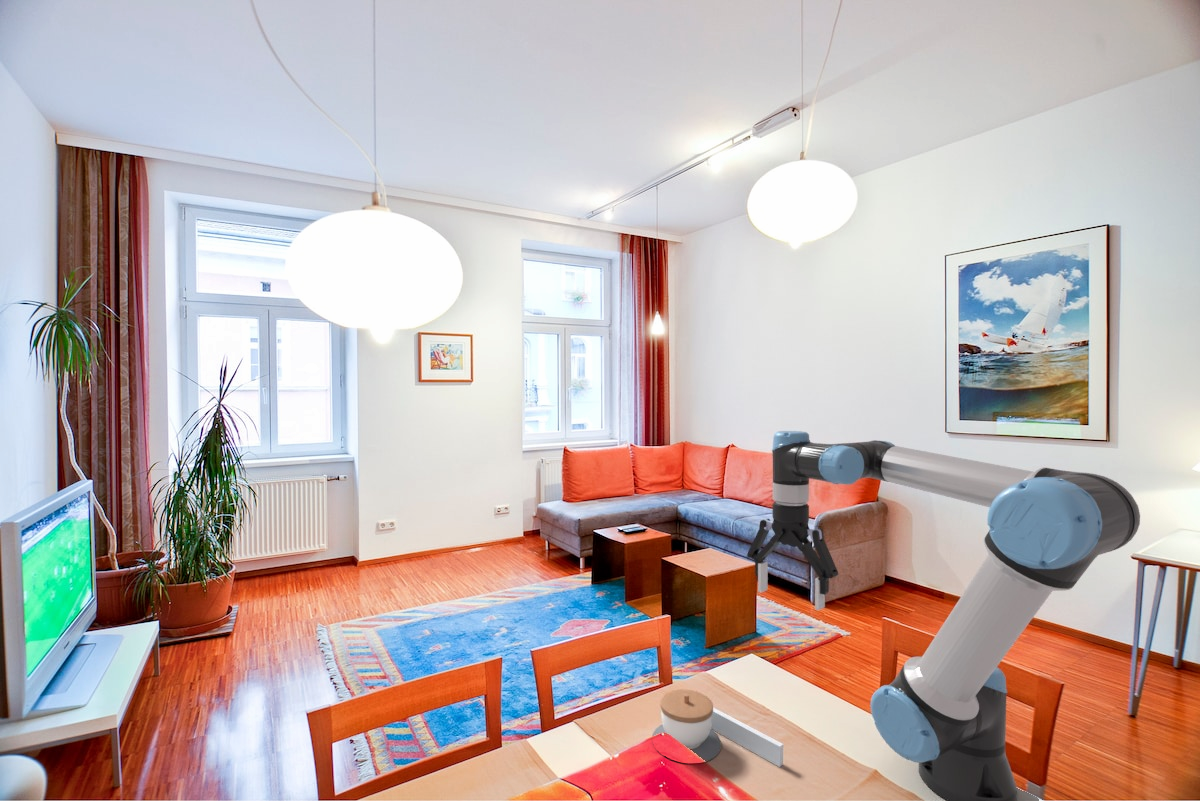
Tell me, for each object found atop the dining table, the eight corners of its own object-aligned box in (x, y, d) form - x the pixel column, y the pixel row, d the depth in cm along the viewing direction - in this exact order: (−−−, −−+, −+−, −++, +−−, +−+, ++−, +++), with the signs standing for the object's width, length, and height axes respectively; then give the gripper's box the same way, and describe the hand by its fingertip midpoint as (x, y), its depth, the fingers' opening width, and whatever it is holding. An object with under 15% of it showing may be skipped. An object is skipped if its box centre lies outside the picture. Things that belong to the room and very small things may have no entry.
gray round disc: (734, 743, 116) (734, 742, 116) (690, 774, 107) (690, 772, 107) (682, 714, 127) (682, 712, 127) (637, 739, 117) (637, 738, 117)
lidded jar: (710, 726, 122) (710, 682, 121) (715, 758, 111) (715, 711, 111) (660, 723, 123) (660, 680, 122) (660, 755, 112) (660, 708, 112)
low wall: (783, 764, 110) (783, 744, 110) (779, 767, 109) (779, 746, 109) (693, 715, 126) (694, 697, 126) (690, 717, 125) (690, 699, 125)
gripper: (855, 508, 116) (855, 611, 117) (750, 492, 135) (750, 581, 135) (838, 514, 111) (837, 621, 112) (732, 496, 130) (731, 588, 130)
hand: (790, 599), depth 124 cm, fingers open, 13 cm apart
